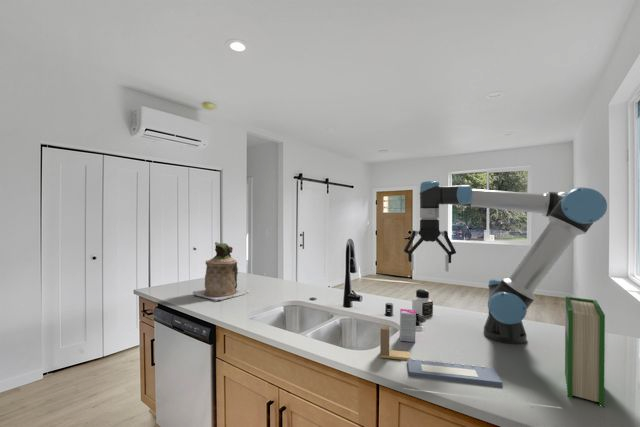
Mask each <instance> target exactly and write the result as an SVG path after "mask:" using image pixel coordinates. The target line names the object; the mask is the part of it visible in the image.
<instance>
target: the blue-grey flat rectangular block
mask: <svg viewBox="0 0 640 427" xmlns="http://www.w3.org/2000/svg"><path fill="white" fill-rule="evenodd" d="M407 369H408V376H409V377H415V378H422V379H423V378H425V379H433V380H441V381H442V380H443V381H449V382H450V381H452V382H460V383H469V384H475V385H476V384H477V385H483V386H494V387H501V388H502V387H503V381H502V380H501V378H500V376H499V375H498V373H497V372H496V371H495V369H494V368H493V366H484V365H473V364H464V363H454V362H444V361H434V360H426V359H425V360H424V359H416V358H415V359H414V358H410V359H408V360H407Z"/></svg>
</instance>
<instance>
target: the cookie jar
mask: <svg viewBox="0 0 640 427" xmlns="http://www.w3.org/2000/svg"><path fill="white" fill-rule="evenodd" d="M214 245H215V246H214V247H215V248H214V251H215V253H216V254H215V256H213V258H211V259H209V260H206V261H205V265H206V269H205V275H204V288H205V289H201V290H196V291H192V295H193V297H194V296H198V297H200V298H205V299H208V300H211V301H214V302H218V301H224V300H227V299H233V298H236V297H240V296H243V295H248V294H249V290H248V289H242V288H238V273H239V272H238V271H239V269H238V261H237V260H236V259H235V258H233V257H232V255H231V253H233V250H234V249H233V247H232V246H229V244H228V243H224V242H222V243H221V242H217V241H215V242H214Z"/></svg>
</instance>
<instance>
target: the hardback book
mask: <svg viewBox="0 0 640 427" xmlns="http://www.w3.org/2000/svg"><path fill="white" fill-rule="evenodd" d="M564 315H565V317H564V318H565V319H564V320H565V321H564V322H565V325H564V329H565V332H564V333H565V337H564V342H565V343H564V375H565V384H567V385H566V392H567V398H568V397H570V398H569V399H571V398H572V399H573V396H575V397H578V398H581V399H586V400H589V401H592V402H597V403H598V402H599V403H598V406H599V405H601V406H604V407H605V348H606V347H605V346H606V345H605V341H606V340H605V337H606V335H605V334H606V333H605V332H606V330H605V329H606V326H605V325H606V322H605V321H606V315H605V313H604V311H603V310H602V307H601V306H600V304H599V303H598V300H596V299H589V298H581V297H573V296H565V313H564ZM601 406H600V407H601Z"/></svg>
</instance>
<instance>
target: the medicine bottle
mask: <svg viewBox="0 0 640 427" xmlns="http://www.w3.org/2000/svg"><path fill="white" fill-rule="evenodd" d="M411 303H412V304H411V306H412V307H411V310H415V312H420V315H421V316H423V317H422V318H425V317H424V316H426V317H430V315H431V316H433V315H434V301H433V300H431V299H430V291H429V290H427V289H417V290H416V291H415V298H412V301H411ZM421 316H420V317H421Z"/></svg>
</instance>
